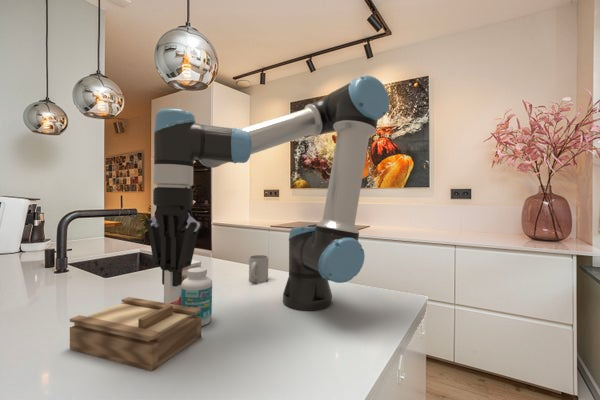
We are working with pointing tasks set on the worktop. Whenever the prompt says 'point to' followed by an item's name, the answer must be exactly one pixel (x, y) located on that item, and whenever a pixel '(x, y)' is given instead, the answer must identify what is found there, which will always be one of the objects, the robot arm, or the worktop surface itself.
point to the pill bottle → (198, 293)
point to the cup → (258, 268)
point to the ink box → (184, 275)
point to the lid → (140, 318)
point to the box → (134, 349)
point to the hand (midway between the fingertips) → (171, 300)
